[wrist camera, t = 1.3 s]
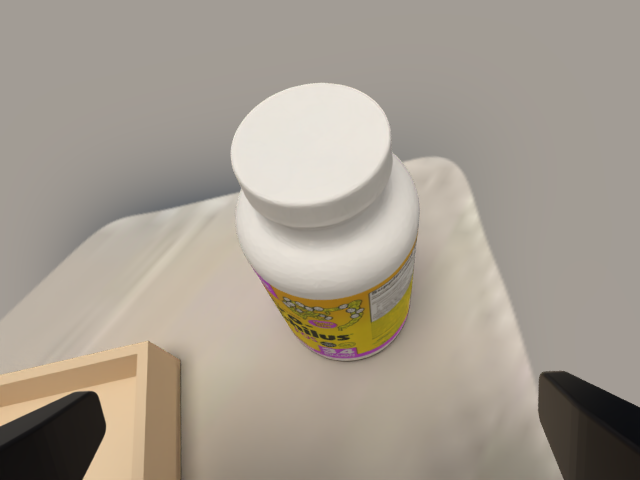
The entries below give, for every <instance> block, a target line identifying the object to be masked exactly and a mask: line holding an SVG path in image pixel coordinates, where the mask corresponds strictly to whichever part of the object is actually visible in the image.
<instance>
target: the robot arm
mask: <svg viewBox="0 0 640 480" xmlns="http://www.w3.org/2000/svg"><path fill="white" fill-rule="evenodd" d="M538 412H539V418H540V422H541V425H542V427H543V430H544V432H545V435H546V437H547V439H548V442H549V444H550V447H551V449H552V452H553V454H554V457H555V459H556V461H557V464H558V466H559V469H560V471H561V474H562V476H563V479H564V480H640V407H638V406H636V405H634V404H632V403H630V402H628V401H626V400H624V399H621V398H619V397H617V396H615V395H613V394H611V393H609V392H607V391H605V390H603V389H601V388H599V387H596V386H594V385H592V384H590V383H588V382H586V381H584V380H582V379H580V378H578V377H576V376H574V375H572V374H570V373H568V372H565V371H546V372H542V373H541V374H540V377H539V397H538ZM105 432H106V421H105V417H104V414H103V410H102V406H101V403H100V399H99V396H98V395H97V393H96V392H94V391H77V392H73V393H71V394H69V395H67V396H64V397H62V398H60V399H58V400H56V401H54V402H52V403H49V404H47V405H45V406H43V407H41V408H39V409H36V410H34V411H32V412H30V413H28V414H26V415H24V416H21V417H19V418H17V419H15V420H13V421H11V422H8V423H6V424H4V425H2V426H0V480H83V478H84V476H85V474H86V472H87V470H88V468H89V466H90V464H91V462H92V460H93V458H94V456H95V454H96V452H97V450H98V448H99V446H100V444H101V442H102V440H103V438H104V436H105Z"/></svg>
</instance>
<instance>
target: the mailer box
mask: <svg viewBox="0 0 640 480" xmlns="http://www.w3.org/2000/svg"><path fill="white" fill-rule="evenodd" d="M77 391H94V392H96V393H97V395H98V396H99V399H100V403H101V406H102V410H103V414H104V417H105V421H106V432H105V436H104V438H103V440H102V442H101V444H100V446H99V448H98V450H97V452H96V454H95V456H94V458H93V460H92V462H91V464H90V466H89V468H88V470H87V472H86V474H85V476H84V478H83V480H181V398H180V360H179V359H178V358H176V357H174V356H173V355H171V354H169V353H168V352H166V351H164V350H163V349H161V348H159V347H158V346H156V345H154V344H153V343H151V342H149V341H145V342H141V343H137V344H132V345H128V346H124V347H119V348H115V349H111V350H106V351H102V352H98V353H93V354H89V355H85V356H80V357H76V358H72V359H68V360H63V361H59V362H55V363H50V364H46V365H42V366H37V367H33V368H29V369H24V370H20V371H16V372H11V373H7V374H3V375H0V426H2V425H4V424H6V423H8V422H11V421H13V420H15V419H17V418H19V417H21V416H24V415H26V414H28V413H30V412H32V411H34V410H36V409H39V408H41V407H43V406H45V405H47V404H49V403H52V402H54V401H56V400H58V399H60V398H62V397H64V396H67V395H69V394H71V393H73V392H77Z"/></svg>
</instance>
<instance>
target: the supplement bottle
mask: <svg viewBox="0 0 640 480" xmlns="http://www.w3.org/2000/svg"><path fill="white" fill-rule="evenodd" d="M231 162H232V167H233V170H234V173H235V175H236V177H237V179H238V181H239V184H240V186H241V187H242V189H241V191H240V194H239V197H238V200H237V206H236V215H235V221H236V232H237V237H238V240H239V243H240V246H241V248H242V251H243V253H244V255H245V256H246V258H247V260H248V261H249V263H250V265H251V266H252V268H253V269H254V271H255V272H256V274H257V275H258V277H259V278H260V280H261V282H262V283H263V285H264V287H265V288H266V290H267V292H268V293H269V295H270V297H271V298H272V300H273V301H274V303H275V305H276V306H277V308H278V309H279V311H280V313H281V314H282V316H283V317H284V319H285V321H286V322H287V324H288V325H289V327H290V329H291V330H292V331H293V333H294V334H295V336H296V337H297V338H298V339H299V340H300V342H301V343H302V344H303V345H305V346H306V347H307V348H308V349H310V350H311V351H313V352H315V353H316V354H318V355H321V356H323V357H326V358H329V359H333V360H340V361H352V360H359V359H363V358H366V357H369V356H372V355H374V354H376V353H378V352H380V351H381V350H383V349H384V348H385V347H387V346H388V345H389V344H390V343H391V342H392V341H393V340H394V339H395V338H396V337H397V335H398V334H399V332H400V331H401V329H402V327H403V325H404V323H405V321H406V318H407V315H408V311H409V306H410V298H411V289H412V280H413V271H414V261H415V252H416V243H417V235H418V226H419V214H420V207H419V197H418V193H417V189H416V186H415V183H414V181H413V179H412V177H411V175H410V173H409V171H408V170H407V168H406V167H405V165H404V164H403V163H402V161H400V159H399V158H398V157H397V156H396V155H395V154H393V153H392V144H391V130H390V125H389V122H388V119H387V117H386V115H385V113H384V111H383V110H382V109H381V107H380V106H379V105H378V104H377V103H376V102H375V101H374V100H373V99H372V98H370V97H369V96H367V95H366V94H364V93H363V92H360V91H358V90H356V89H354V88H351V87H347V86H344V85H338V84H330V83H314V84H313V83H312V84H305V85H300V86H296V87H292V88H288V89H286V90H283V91H281V92H279V93H276V94H274V95H273V96H270V97H269V98H267V99H266V100H264V101H263V102H261V103H260V104H259V105H258V106H256V107H255V108H254V109H253V110H252V111H251V112H250V113H249V114H248V115H247V116H246V117H245V118H244V120H243V121H242V123H241V124H240V126H239V128H238V130H237V131H236V133H235V136H234V138H233V142H232V146H231Z"/></svg>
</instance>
